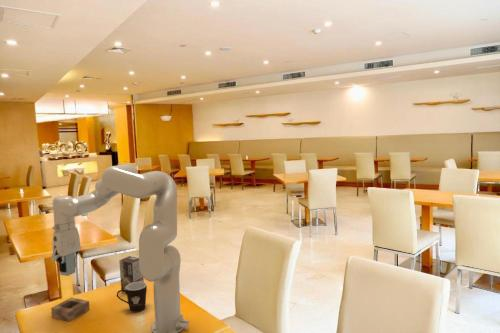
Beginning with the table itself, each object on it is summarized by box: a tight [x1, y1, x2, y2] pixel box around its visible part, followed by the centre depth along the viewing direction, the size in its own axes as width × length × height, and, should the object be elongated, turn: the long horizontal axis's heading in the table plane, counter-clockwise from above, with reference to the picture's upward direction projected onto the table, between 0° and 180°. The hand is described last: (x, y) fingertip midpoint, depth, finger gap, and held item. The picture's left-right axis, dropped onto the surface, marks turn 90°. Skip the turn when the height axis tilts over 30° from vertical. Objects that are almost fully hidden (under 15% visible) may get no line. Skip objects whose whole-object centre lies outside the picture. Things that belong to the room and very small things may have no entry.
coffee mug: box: [116, 282, 148, 313], centre depth 155 cm, size 12×9×10 cm
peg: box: [59, 253, 76, 277], centre depth 150 cm, size 4×4×10 cm
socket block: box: [50, 297, 91, 322], centre depth 152 cm, size 10×10×4 cm
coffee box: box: [118, 255, 145, 295], centre depth 170 cm, size 9×6×16 cm
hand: (67, 269), depth 151 cm, fingers closed on peg, 4 cm apart
